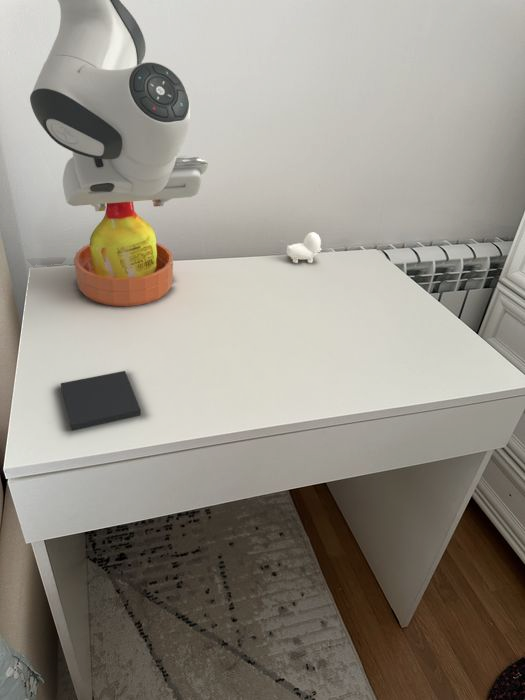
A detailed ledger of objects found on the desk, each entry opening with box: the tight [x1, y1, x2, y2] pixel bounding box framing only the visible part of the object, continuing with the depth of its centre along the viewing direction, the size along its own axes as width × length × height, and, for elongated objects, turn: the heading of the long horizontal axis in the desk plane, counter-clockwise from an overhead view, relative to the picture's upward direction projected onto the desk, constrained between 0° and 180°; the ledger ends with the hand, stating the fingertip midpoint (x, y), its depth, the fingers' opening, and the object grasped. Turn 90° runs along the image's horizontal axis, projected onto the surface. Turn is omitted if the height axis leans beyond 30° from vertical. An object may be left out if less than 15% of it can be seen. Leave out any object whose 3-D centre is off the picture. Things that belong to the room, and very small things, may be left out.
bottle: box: [89, 201, 157, 278], centre depth 95 cm, size 12×6×20 cm, turn 114°
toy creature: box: [286, 231, 323, 264], centre depth 114 cm, size 5×8×6 cm, turn 102°
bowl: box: [73, 242, 174, 307], centre depth 99 cm, size 17×17×6 cm
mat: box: [60, 370, 142, 432], centre depth 73 cm, size 9×9×1 cm
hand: (128, 204), depth 87 cm, fingers open, 8 cm apart
